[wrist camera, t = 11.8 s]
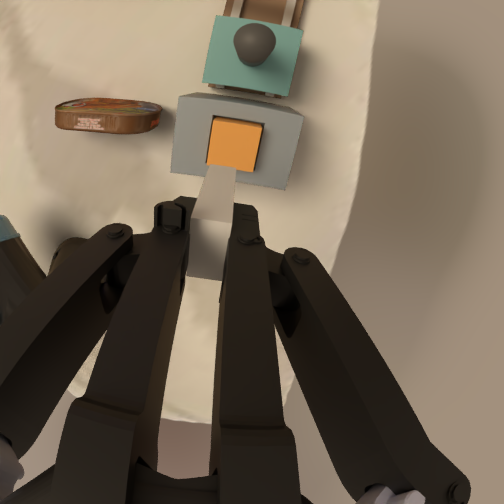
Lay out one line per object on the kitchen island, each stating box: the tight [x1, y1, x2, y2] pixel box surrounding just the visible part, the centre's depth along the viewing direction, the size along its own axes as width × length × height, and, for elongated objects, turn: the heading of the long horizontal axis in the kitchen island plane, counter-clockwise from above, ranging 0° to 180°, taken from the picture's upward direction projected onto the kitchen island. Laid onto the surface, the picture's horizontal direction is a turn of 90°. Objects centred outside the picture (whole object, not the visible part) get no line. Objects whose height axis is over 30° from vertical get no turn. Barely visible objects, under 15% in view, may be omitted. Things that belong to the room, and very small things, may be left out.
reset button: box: [207, 116, 262, 172], centre depth 25 cm, size 4×4×3 cm
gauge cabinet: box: [170, 92, 304, 190], centre depth 29 cm, size 12×8×10 cm, turn 79°
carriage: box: [202, 15, 303, 97], centre depth 20 cm, size 8×9×13 cm
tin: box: [55, 98, 162, 134], centre depth 27 cm, size 15×3×8 cm, turn 75°
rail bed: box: [208, 0, 304, 98], centre depth 23 cm, size 22×9×2 cm, turn 169°
